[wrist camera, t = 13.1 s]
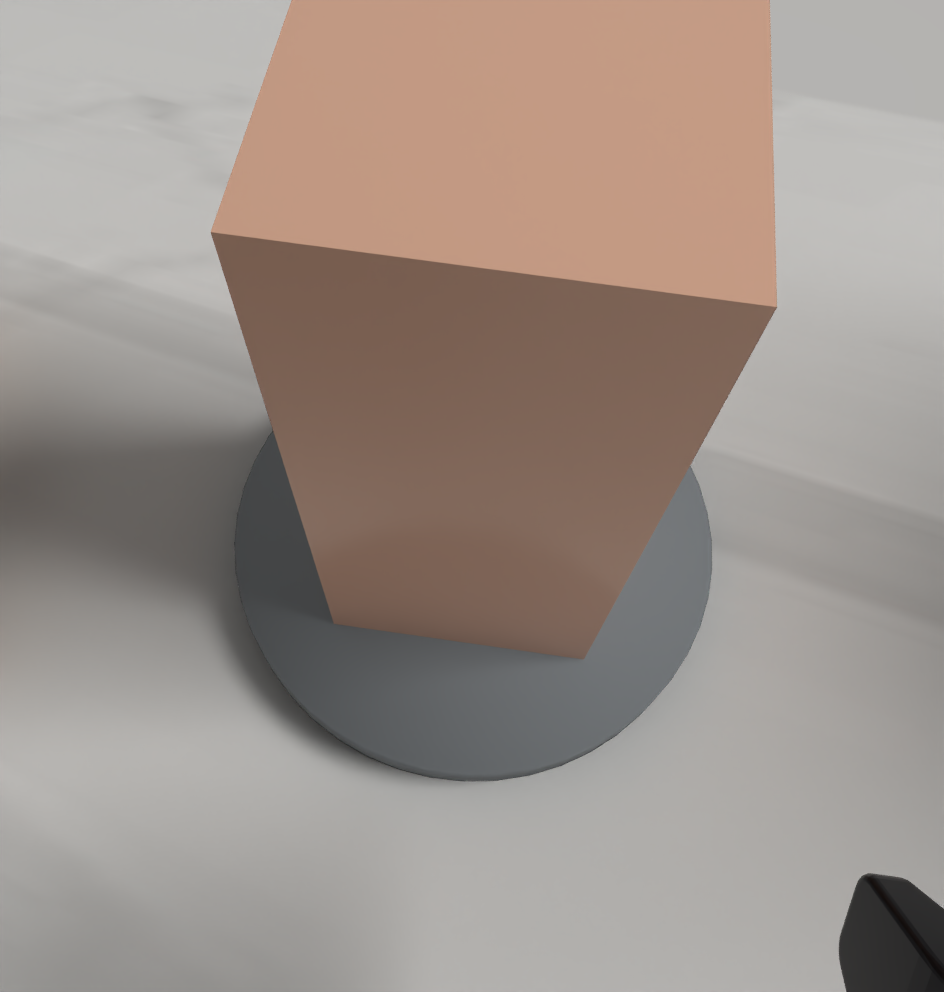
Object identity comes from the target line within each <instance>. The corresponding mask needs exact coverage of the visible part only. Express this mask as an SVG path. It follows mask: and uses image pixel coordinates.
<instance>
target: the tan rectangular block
mask: <svg viewBox="0 0 944 992" xmlns="http://www.w3.org/2000/svg"><path fill="white" fill-rule="evenodd" d="M770 37H771V35H770V0H292V1H291V4H290V7H289V9H288V12H287V15H286V18H285V21H284V24H283V27H282V29H281V32H280V35H279V38H278V41H277V44H276V47H275V49H274V52H273V55H272V58H271V61H270V64H269V67H268V70H267V72H266V75H265V78H264V81H263V84H262V87H261V90H260V92H259V95H258V98H257V101H256V104H255V107H254V110H253V112H252V115H251V118H250V121H249V124H248V127H247V130H246V132H245V135H244V138H243V141H242V144H241V147H240V150H239V153H238V155H237V158H236V161H235V164H234V167H233V170H232V173H231V175H230V178H229V181H228V184H227V187H226V190H225V193H224V195H223V198H222V201H221V204H220V207H219V210H218V213H217V215H216V218H215V221H214V224H213V227H212V230H211V235H212V238H213V241H214V244H215V247H216V250H217V254H218V257H219V260H220V263H221V266H222V270H223V273H224V276H225V279H226V282H227V285H228V289H229V292H230V295H231V298H232V301H233V305H234V308H235V311H236V314H237V317H238V320H239V324H240V327H241V330H242V333H243V336H244V339H245V343H246V346H247V349H248V352H249V355H250V359H251V362H252V365H253V368H254V371H255V374H256V378H257V381H258V384H259V387H260V390H261V394H262V397H263V400H264V403H265V406H266V409H267V413H268V416H269V419H270V422H271V425H272V428H273V432H274V435H275V438H276V441H277V444H278V448H279V451H280V454H281V457H282V460H283V463H284V467H285V470H286V473H287V476H288V479H289V483H290V486H291V489H292V492H293V495H294V498H295V502H296V505H297V508H298V511H299V514H300V517H301V521H302V524H303V527H304V530H305V533H306V537H307V540H308V543H309V546H310V549H311V552H312V556H313V559H314V562H315V565H316V568H317V572H318V575H319V578H320V581H321V584H322V587H323V591H324V594H325V597H326V600H327V603H328V607H329V610H330V613H331V616H332V619H333V622H334V624H338V625H345V626H352V627H359V628H366V629H373V630H380V631H387V632H394V633H401V634H409V635H416V636H423V637H430V638H437V639H444V640H451V641H458V642H465V643H472V644H479V645H486V646H493V647H500V648H507V649H514V650H521V651H528V652H535V653H542V654H549V655H556V656H563V657H570V658H577V659H584V658H585V656H586V655H587V653H588V651H589V649H590V647H591V645H592V644H593V642H594V640H595V638H596V636H597V635H598V633H599V631H600V629H601V627H602V625H603V624H604V622H605V620H606V618H607V616H608V614H609V613H610V611H611V609H612V607H613V605H614V603H615V602H616V600H617V598H618V596H619V594H620V593H621V591H622V589H623V587H624V585H625V583H626V582H627V580H628V578H629V576H630V574H631V572H632V571H633V569H634V567H635V565H636V563H637V561H638V560H639V558H640V556H641V554H642V552H643V551H644V549H645V547H646V545H647V543H648V541H649V540H650V538H651V536H652V534H653V532H654V530H655V529H656V527H657V525H658V523H659V521H660V520H661V518H662V516H663V514H664V512H665V510H666V509H667V507H668V505H669V503H670V501H671V499H672V498H673V496H674V494H675V492H676V490H677V488H678V487H679V485H680V483H681V481H682V479H683V478H684V476H685V474H686V472H687V470H688V468H689V467H690V465H691V463H692V461H693V459H694V457H695V456H696V454H697V452H698V450H699V448H700V447H701V445H702V443H703V441H704V439H705V437H706V436H707V434H708V432H709V430H710V428H711V426H712V425H713V423H714V421H715V419H716V417H717V415H718V414H719V412H720V410H721V408H722V406H723V405H724V403H725V401H726V399H727V397H728V395H729V394H730V392H731V390H732V388H733V386H734V384H735V383H736V381H737V379H738V377H739V375H740V374H741V372H742V370H743V368H744V366H745V364H746V363H747V361H748V359H749V357H750V355H751V353H752V352H753V350H754V348H755V346H756V344H757V342H758V341H759V339H760V337H761V335H762V333H763V332H764V330H765V328H766V326H767V324H768V322H769V321H770V319H771V317H772V315H773V313H774V311H775V310H776V308H777V290H776V247H775V204H774V162H773V119H772V80H771V79H772V77H771V38H770Z"/></svg>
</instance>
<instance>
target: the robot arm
mask: <svg viewBox="0 0 944 992" xmlns="http://www.w3.org/2000/svg"><path fill="white" fill-rule="evenodd" d="M839 960H840V965H841V970H842V974H843V979H844V983H845V988H846V992H944V909H943V908H942V907H941V906H939V905H938V904H937V903H936V902H934V901H933V900H932V899H931V898H929V897H928V896H927V895H926V894H925V893H923V892H922V891H921V890H920V889H918V888H917V887H916V886H915V885H913V884H912V883H911V882H909V881H908V880H906V879H903V878H900V877H893V876H886V875H878V874H871V873H869V874H866V875H863V876H862V877H861V878H860V879H859V880H858V883H857V885H856V887H855V890H854V894H853V897H852V900H851V903H850V906H849V909H848V913H847V916H846V919H845V922H844V925H843V928H842V932H841V935H840V940H839Z"/></svg>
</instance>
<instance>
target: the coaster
mask: <svg viewBox="0 0 944 992" xmlns="http://www.w3.org/2000/svg"><path fill="white" fill-rule="evenodd" d="M235 564H236V576H237V581H238V586H239V592H240V597H241V602H242V605H243V608H244V611H245V614H246V616H247V619H248V622H249V625H250V628H251V631H252V633H253V635H254V637H255V639H256V640H257V642H258V644H259V646H260V648H261V650H262V652H263V654H264V656H265V658H266V660H267V661H268V663H269V665H270V666H271V668H272V670H273V671H274V673H275V674H276V676H277V677H278V678H279V680H280V681H281V683H282V684H283V685H284V687H285V688H286V690H287V691H288V692H289V694H290V695H291V697H292V698H293V699H294V700H295V701H296V702H297V703H298V704H299V705H300V706H301V707H302V708H303V709H304V710H305V711H306V712H307V713H308V714H309V715H310V717H311V718H312V719H313V720H314V721H316V722H317V723H318V724H320V725H321V726H322V727H323V728H325V729H326V730H327V731H328V732H330V733H331V734H332V735H334V736H335V737H336V738H337V739H339V740H340V741H342V742H344V743H345V744H347V745H349V746H350V747H352V748H354V749H356V750H357V751H359V752H361V753H363V754H364V755H366V756H368V757H370V758H373V759H375V760H378V761H380V762H382V763H385V764H387V765H390V766H392V767H395V768H397V769H400V770H404V771H408V772H412V773H416V774H420V775H424V776H427V777H433V778H441V779H450V780H458V781H495V780H503V779H509V778H516V777H522V776H528V775H532V774H535V773H539V772H542V771H545V770H549V769H552V768H555V767H559V766H562V765H564V764H566V763H568V762H570V761H572V760H575V759H577V758H579V757H581V756H583V755H585V754H588V753H590V752H591V751H593V750H594V749H596V748H598V747H599V746H601V745H602V744H604V743H605V742H607V741H608V740H610V739H612V738H613V737H615V736H616V735H617V734H619V733H620V732H621V731H622V730H623V729H624V728H626V727H627V726H628V725H629V724H630V723H631V722H632V721H634V720H635V719H636V718H637V717H638V716H639V715H640V714H641V713H642V712H643V711H644V710H645V709H646V708H647V707H648V706H649V705H650V704H651V703H652V701H653V700H654V699H655V698H656V697H657V696H658V695H659V693H660V692H661V691H662V690H663V689H664V688H665V686H666V685H667V684H668V683H669V682H670V681H671V679H672V678H673V676H674V675H675V673H676V672H677V670H678V668H679V667H680V665H681V664H682V662H683V661H684V659H685V657H686V656H687V654H688V652H689V650H690V648H691V646H692V643H693V641H694V639H695V637H696V634H697V632H698V630H699V628H700V625H701V622H702V618H703V614H704V611H705V607H706V604H707V600H708V595H709V588H710V580H711V572H712V540H711V534H710V527H709V521H708V514H707V510H706V507H705V503H704V500H703V497H702V493H701V490H700V487H699V484H698V482H697V480H696V477H695V475H694V473H693V471H692V468H691V466H690V467H689V468H688V470H687V472H686V474H685V476H684V478H683V479H682V481H681V483H680V485H679V487H678V488H677V490H676V492H675V494H674V496H673V498H672V499H671V501H670V503H669V505H668V507H667V509H666V510H665V512H664V514H663V516H662V518H661V520H660V521H659V523H658V525H657V527H656V529H655V530H654V532H653V534H652V536H651V538H650V540H649V541H648V543H647V545H646V547H645V549H644V551H643V552H642V554H641V556H640V558H639V560H638V561H637V563H636V565H635V567H634V569H633V571H632V572H631V574H630V576H629V578H628V580H627V582H626V583H625V585H624V587H623V589H622V591H621V593H620V594H619V596H618V598H617V600H616V602H615V603H614V605H613V607H612V609H611V611H610V613H609V614H608V616H607V618H606V620H605V622H604V624H603V625H602V627H601V629H600V631H599V633H598V635H597V636H596V638H595V640H594V642H593V644H592V645H591V647H590V649H589V651H588V653H587V655H586V656H585V658H584V659H577V658H570V657H563V656H556V655H549V654H542V653H535V652H528V651H521V650H514V649H507V648H500V647H493V646H486V645H479V644H472V643H465V642H458V641H451V640H444V639H437V638H430V637H423V636H416V635H409V634H401V633H394V632H387V631H380V630H373V629H366V628H359V627H352V626H345V625H338V624H334V622H333V619H332V616H331V613H330V610H329V607H328V603H327V600H326V597H325V594H324V591H323V587H322V584H321V581H320V578H319V575H318V572H317V568H316V565H315V562H314V559H313V556H312V552H311V549H310V546H309V543H308V540H307V537H306V533H305V530H304V527H303V524H302V521H301V517H300V514H299V511H298V508H297V505H296V502H295V498H294V495H293V492H292V489H291V486H290V483H289V479H288V476H287V473H286V470H285V467H284V463H283V460H282V457H281V454H280V451H279V448H278V444H277V441H276V438H275V435H274V432H272V433H271V434H270V436H269V437H268V439H267V440H266V442H265V444H264V446H263V447H262V449H261V451H260V453H259V455H258V456H257V458H256V460H255V462H254V464H253V467H252V469H251V472H250V474H249V477H248V479H247V482H246V484H245V487H244V491H243V495H242V499H241V503H240V507H239V511H238V515H237V525H236V534H235Z"/></svg>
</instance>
